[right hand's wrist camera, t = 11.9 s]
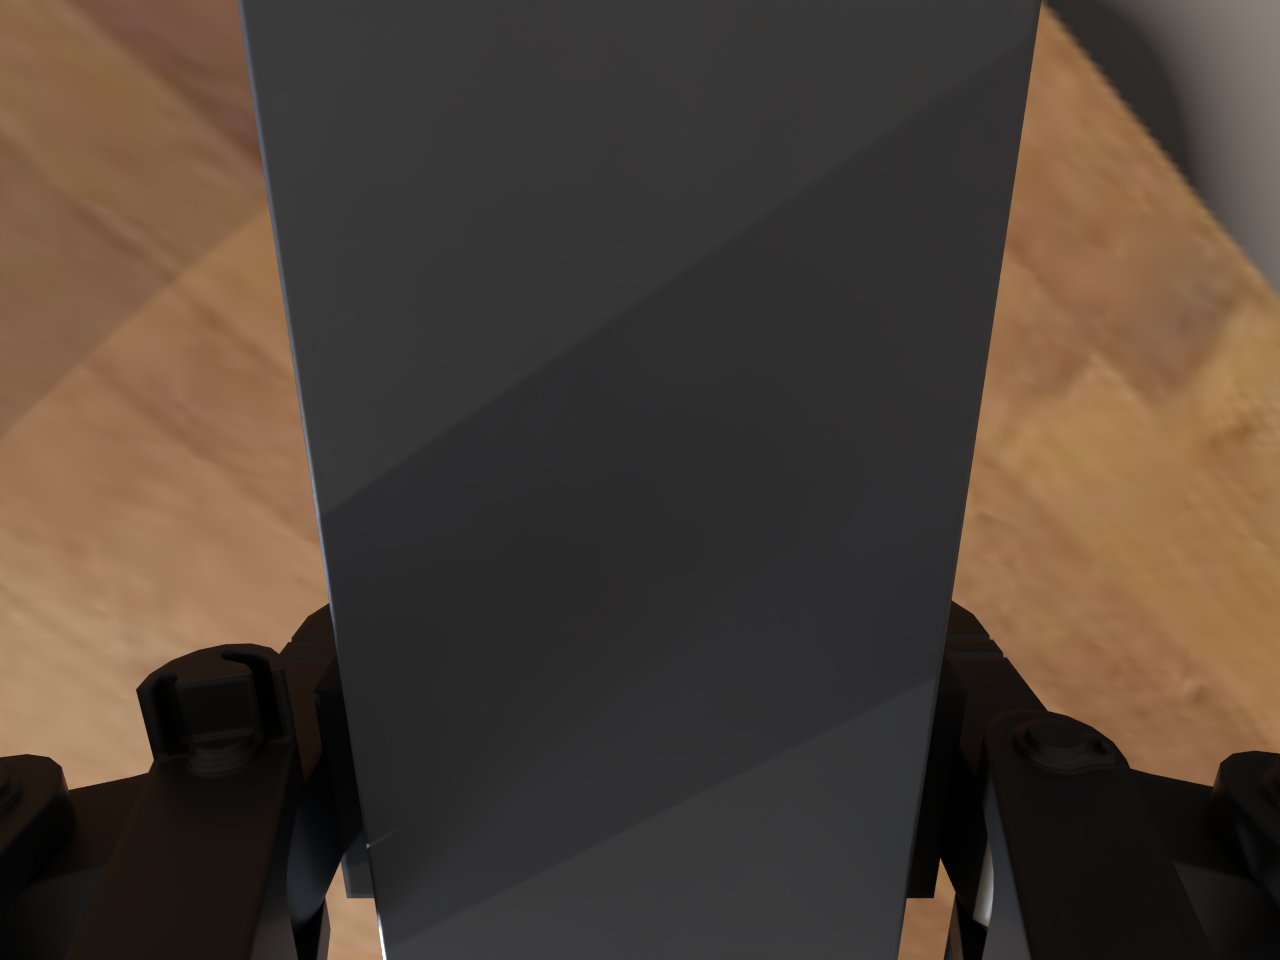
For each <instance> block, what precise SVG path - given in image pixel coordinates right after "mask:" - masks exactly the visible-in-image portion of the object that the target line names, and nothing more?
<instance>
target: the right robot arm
mask: <svg viewBox="0 0 1280 960" xmlns="http://www.w3.org/2000/svg"><path fill="white" fill-rule="evenodd" d="M136 691H137V695H138V699H139V703H140V707H141V711H142V715H143V719H144V723H145V727H146V731H147V734H148V738H149V742H150V746H151V750H152V754H153V758H154V761H153V764H152V766H151V768H150V770H149V772H148V773H145V774H141V775H137V776H134V777H130V778H125V779H120V780H115V781H111V782H106V783H101V784H96V785H91V786H86V787H82V788H77V789H72V790H68V787H67V783H66V780H65V777H64V774H63V770H62V767H61V766H60V765H59V764H57V763H56V762H55V761H53V760H52V759H51V758H50V757H44V756H37V755H30V754H24V755H16V756H8V757H0V960H327V956H328V947H329V938H330V923H329V916H328V910H327V904H326V898H325V895H326V893H327V891H328V888H329V886H330V884H331V882H332V879H333V877H334V875H335V872H336V870H337V868H338V866H339V863H340V861H341V865H342V871H343V877H344V883H345V889H346V895H347V898H374V892H373V886H372V879H371V872H370V866H369V859H368V853H367V846H366V840H365V833H364V827H363V820H362V813H361V807H360V800H359V794H358V787H357V781H356V774H355V767H354V761H353V754H352V748H351V741H350V735H349V728H348V721H347V715H346V708H345V702H344V695H343V689H342V682H341V676H340V669H339V662H338V656H337V649H336V643H335V636H334V630H333V623H332V616H331V610H330V603H328V604H327V605H325V606H324V607H322V608H321V609H319V610H318V611H316V612H314V613H313V614H311V615H310V616H308V617H307V619H306V620H305V621H304V622H303V624H302V625H301V626H300V628H299V629H298V630H297V632H296V633H295V634H294V636H293V637H292V641H291V642H288V643H287V645H286V646H285V647H284V649H283V650H282V651H281V653H280V654H278V653H277V652H276V651H274V650H273V649H272V648H269V647H265V646H260V645H256V644H251V643H250V644H225V645H220V646H215V647H211V648H206V649H201V650H197V651H195V652H192V653H190V654H187V655H184V656H182V657H179V658H177V659H174V660H172V661H170V662H168V663H167V664H165V665H164V666H162V667H160V668H159V669H157V670H156V671H154V672H152V673H151V674H149V676H148V677H147V678H146V679H145V680H144V681H143V682H142V683H141V685H140V686H139V687H138V688H137V689H136ZM940 858H941V860H942V863H943V865H944V867H945V869H946V872H947V874H948V876H949V878H950V881H951V883H952V885H953V887H954V890H955V892H956V893H955V898H954V904H953V910H952V915H951V921H950V926H949V932H948V938H947V943H946V949H945V955H944V960H1280V754H1278V753H1270V752H1262V751H1249V752H1241V753H1234V754H1232V755H1230V756H1229V757H1228V758H1227V759H1225V760H1224V761H1223V762H1221V763H1220V766H1219V770H1218V773H1217V776H1216V779H1215V783H1214V786H1213V787H1211V786H1206V785H1202V784H1197V783H1192V782H1187V781H1182V780H1177V779H1173V778H1168V777H1163V776H1158V775H1153V774H1149V773H1145V772H1141V771H1138V770H1134V769H1130V767H1129V764H1128V762H1127V760H1126V758H1125V757H1124V756H1123V754H1122V753H1121V752H1120V750H1119V749H1118V748H1117V746H1116V745H1115V744H1114V742H1112V741H1111V740H1110V739H1108V738H1107V737H1105V736H1104V735H1103V734H1101V733H1100V732H1098V731H1097V730H1096V729H1094V728H1093V727H1091V726H1089V725H1087V724H1084V723H1082V722H1080V721H1078V720H1075V719H1073V718H1071V717H1069V716H1066V715H1062V714H1058V713H1053V712H1049V711H1047V709H1046V708H1045V707H1044V706H1043V704H1042V703H1041V702H1040V700H1039V699H1038V698H1037V696H1036V695H1035V694H1034V693H1033V691H1032V690H1031V689H1030V687H1029V686H1028V685H1027V683H1026V682H1025V681H1024V680H1023V678H1022V677H1021V676H1020V674H1019V673H1018V672H1017V670H1016V669H1015V668H1014V667H1013V665H1012V664H1011V663H1010V661H1009V660H1008V659H1007V658H1004V657H1003V652H1002V651H1001V650H1000V648H999V647H998V646H997V644H996V643H995V642H994V641H993V640H990V638H989V634H988V633H987V631H986V630H985V629H984V628H983V626H982V625H981V624H980V622H979V621H978V620H977V618H976V617H975V616H974V615H973V614H972V613H971V612H969V611H967V610H966V609H964V608H963V607H961V606H960V605H958V604H957V603H955V602H953V601H952V600H951V606H950V613H949V620H948V626H947V633H946V640H945V646H944V653H943V660H942V666H941V673H940V680H939V686H938V693H937V700H936V706H935V713H934V720H933V726H932V733H931V740H930V746H929V753H928V760H927V766H926V773H925V780H924V786H923V793H922V800H921V806H920V813H919V820H918V826H917V833H916V840H915V846H914V853H913V860H912V866H911V873H910V880H909V886H908V893H907V898H934V892H935V886H936V880H937V874H938V868H939V862H940Z"/></svg>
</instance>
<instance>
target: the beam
mask: <svg viewBox="0 0 1280 960" xmlns="http://www.w3.org/2000/svg"><path fill="white" fill-rule="evenodd" d="M238 6H239V12H240V19H241V25H242V32H243V39H244V45H245V52H246V58H247V65H248V71H249V78H250V85H251V91H252V98H253V104H254V111H255V117H256V124H257V131H258V137H259V144H260V150H261V157H262V163H263V170H264V176H265V183H266V190H267V196H268V203H269V209H270V216H271V222H272V229H273V236H274V242H275V249H276V255H277V262H278V268H279V275H280V282H281V288H282V295H283V301H284V308H285V314H286V321H287V328H288V334H289V341H290V347H291V354H292V360H293V367H294V373H295V380H296V387H297V393H298V400H299V406H300V413H301V419H302V426H303V433H304V439H305V446H306V452H307V459H308V465H309V472H310V479H311V485H312V492H313V498H314V505H315V511H316V518H317V524H318V531H319V538H320V544H321V551H322V557H323V564H324V570H325V577H326V584H327V590H328V597H329V603H330V610H331V616H332V623H333V630H334V636H335V643H336V649H337V656H338V662H339V669H340V676H341V682H342V689H343V695H344V702H345V708H346V715H347V721H348V728H349V735H350V741H351V748H352V754H353V761H354V767H355V774H356V781H357V787H358V794H359V800H360V807H361V813H362V820H363V827H364V833H365V840H366V846H367V853H368V859H369V866H370V872H371V879H372V886H373V892H374V899H375V905H376V912H377V918H378V925H379V932H380V938H381V945H382V951H383V958H384V960H898V953H899V946H900V940H901V933H902V926H903V920H904V913H905V906H906V900H907V893H908V886H909V880H910V873H911V866H912V860H913V853H914V846H915V840H916V833H917V826H918V820H919V813H920V806H921V800H922V793H923V786H924V780H925V773H926V766H927V760H928V753H929V746H930V740H931V733H932V726H933V720H934V713H935V706H936V700H937V693H938V686H939V680H940V673H941V666H942V660H943V653H944V646H945V640H946V633H947V626H948V620H949V613H950V606H951V600H952V593H953V586H954V580H955V573H956V566H957V560H958V553H959V546H960V540H961V533H962V526H963V520H964V513H965V506H966V500H967V493H968V486H969V480H970V473H971V466H972V460H973V453H974V446H975V440H976V433H977V426H978V420H979V413H980V406H981V400H982V393H983V386H984V380H985V373H986V366H987V360H988V353H989V346H990V340H991V333H992V326H993V320H994V313H995V306H996V300H997V293H998V286H999V280H1000V273H1001V266H1002V260H1003V253H1004V246H1005V240H1006V233H1007V226H1008V220H1009V213H1010V206H1011V200H1012V193H1013V186H1014V180H1015V173H1016V166H1017V160H1018V153H1019V146H1020V140H1021V133H1022V126H1023V120H1024V113H1025V106H1026V100H1027V93H1028V86H1029V80H1030V73H1031V66H1032V60H1033V53H1034V46H1035V40H1036V33H1037V26H1038V20H1039V13H1040V6H1041V0H238Z"/></svg>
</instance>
